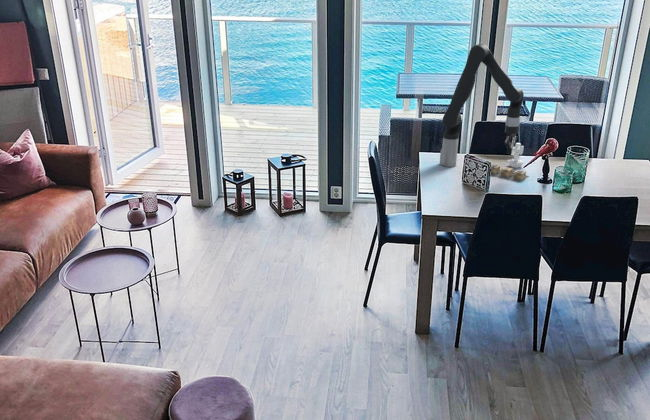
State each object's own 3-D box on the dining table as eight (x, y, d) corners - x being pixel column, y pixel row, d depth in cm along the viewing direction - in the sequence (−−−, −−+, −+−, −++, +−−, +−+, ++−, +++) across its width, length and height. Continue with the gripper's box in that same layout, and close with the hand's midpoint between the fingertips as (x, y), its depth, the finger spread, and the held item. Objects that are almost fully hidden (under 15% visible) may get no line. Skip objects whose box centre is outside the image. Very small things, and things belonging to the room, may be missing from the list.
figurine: (515, 163, 379) (518, 140, 373) (524, 168, 371) (528, 144, 365) (505, 165, 377) (508, 141, 371) (514, 169, 369) (517, 145, 363)
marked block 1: (487, 172, 363) (488, 165, 361) (491, 170, 367) (492, 163, 365) (495, 174, 360) (496, 167, 358) (499, 172, 364) (500, 165, 362)
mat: (483, 174, 360) (483, 174, 360) (494, 168, 370) (494, 168, 370) (519, 183, 347) (519, 182, 347) (529, 176, 357) (529, 176, 357)
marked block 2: (513, 178, 354) (514, 171, 352) (517, 176, 357) (517, 169, 355) (521, 180, 351) (522, 173, 349) (525, 178, 354) (526, 170, 352)
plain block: (500, 175, 358) (501, 168, 357) (504, 173, 362) (504, 166, 360) (508, 177, 355) (509, 170, 354) (512, 175, 359) (513, 168, 357)
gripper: (511, 121, 354) (508, 150, 360) (501, 125, 344) (498, 155, 351) (523, 123, 349) (520, 152, 356) (513, 127, 340) (510, 157, 347)
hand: (509, 153), depth 353 cm, fingers closed
